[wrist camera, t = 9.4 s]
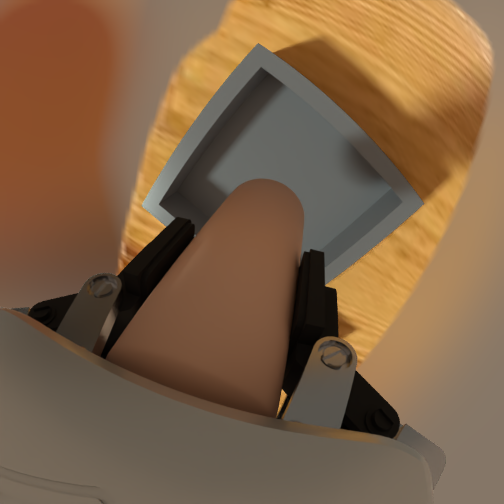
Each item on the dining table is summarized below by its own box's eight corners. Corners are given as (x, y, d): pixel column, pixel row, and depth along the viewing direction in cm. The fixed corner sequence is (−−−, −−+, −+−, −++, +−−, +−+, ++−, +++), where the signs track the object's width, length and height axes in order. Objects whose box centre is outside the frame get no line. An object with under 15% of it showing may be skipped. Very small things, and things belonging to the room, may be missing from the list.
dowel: (313, 189, 13) (299, 392, 4) (293, 259, 16) (256, 450, 7) (230, 170, 14) (84, 319, 5) (221, 241, 16) (125, 406, 7)
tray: (407, 186, 19) (424, 203, 16) (285, 288, 27) (280, 316, 23) (268, 54, 16) (258, 43, 13) (164, 189, 24) (141, 205, 20)
